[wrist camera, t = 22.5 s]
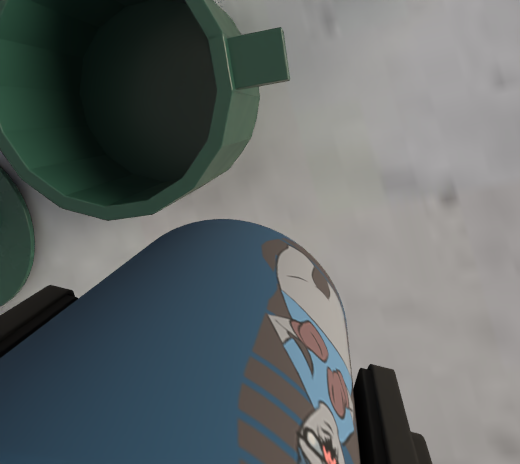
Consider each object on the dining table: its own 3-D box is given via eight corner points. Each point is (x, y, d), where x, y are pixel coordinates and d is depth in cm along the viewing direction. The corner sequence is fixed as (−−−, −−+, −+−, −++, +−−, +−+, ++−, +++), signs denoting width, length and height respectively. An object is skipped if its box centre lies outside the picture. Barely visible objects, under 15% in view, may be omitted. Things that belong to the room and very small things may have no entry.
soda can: (112, 359, 16) (-473, 1038, 4) (169, 175, 14) (-652, 504, 2) (296, 436, 15) (214, 1380, 4) (382, 260, 13) (723, 1129, 2)
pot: (19, 20, 32) (-104, -17, 23) (282, -42, 28) (260, -114, 19) (68, 206, 35) (-23, 238, 26) (310, 171, 32) (304, 193, 22)
